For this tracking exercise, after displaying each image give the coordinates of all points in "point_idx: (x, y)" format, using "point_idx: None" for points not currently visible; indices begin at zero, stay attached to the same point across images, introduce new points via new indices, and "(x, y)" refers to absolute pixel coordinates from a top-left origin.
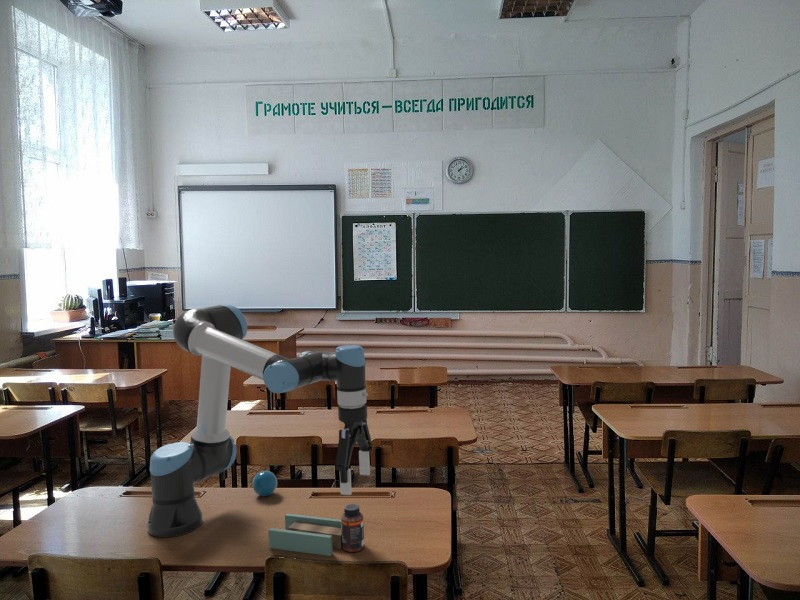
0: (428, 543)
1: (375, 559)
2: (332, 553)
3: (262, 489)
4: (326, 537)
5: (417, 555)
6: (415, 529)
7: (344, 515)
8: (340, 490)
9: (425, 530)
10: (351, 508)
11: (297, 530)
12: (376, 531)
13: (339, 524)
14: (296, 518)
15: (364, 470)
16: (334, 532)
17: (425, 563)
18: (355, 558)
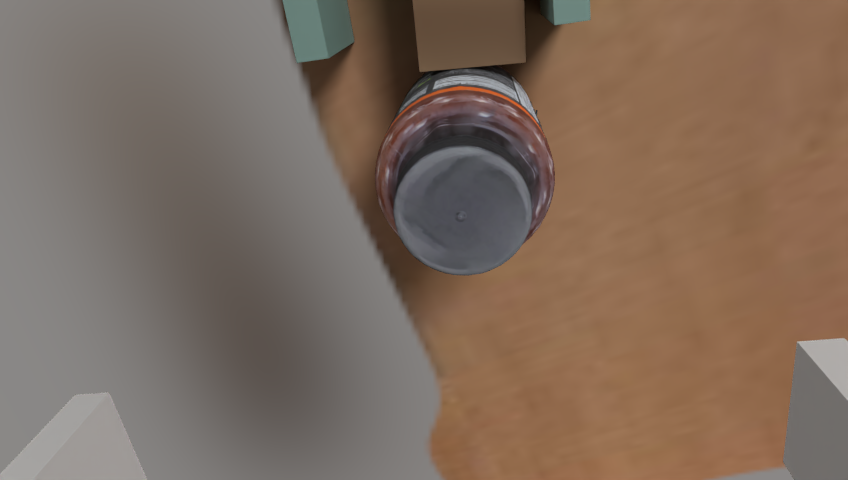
0: (631, 436)
1: (401, 281)
2: (352, 42)
3: None
4: (290, 34)
5: (507, 427)
6: (770, 344)
7: (414, 145)
8: (42, 429)
9: (768, 390)
10: (430, 228)
11: None
12: (701, 158)
13: None
14: None
15: (824, 460)
16: (444, 3)
17: (456, 469)
18: (368, 188)
